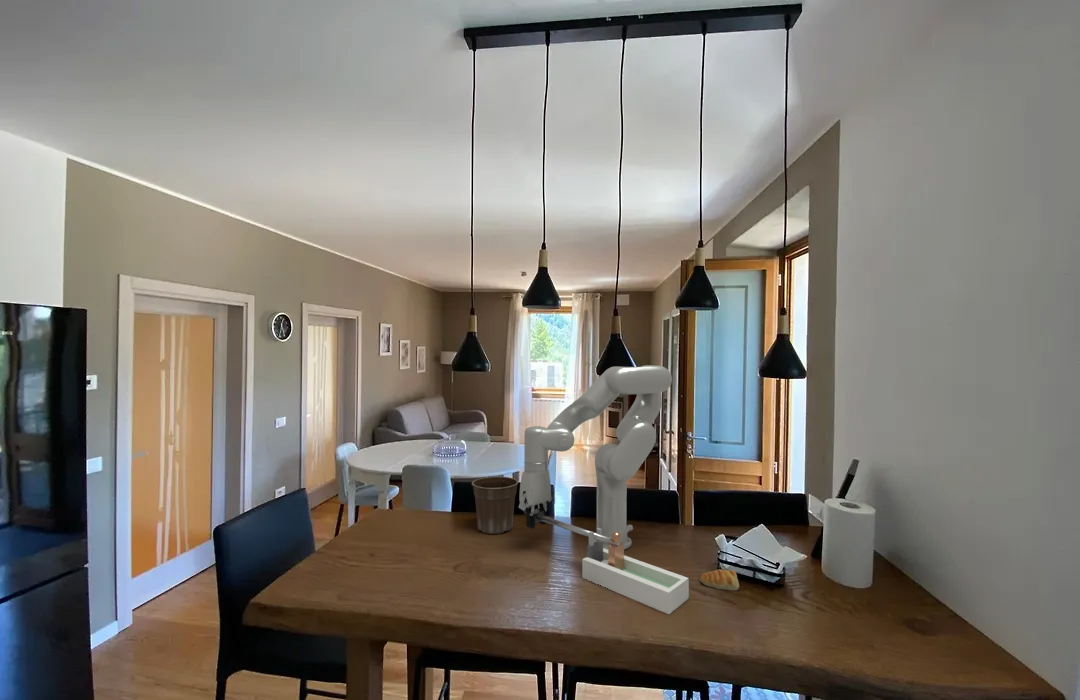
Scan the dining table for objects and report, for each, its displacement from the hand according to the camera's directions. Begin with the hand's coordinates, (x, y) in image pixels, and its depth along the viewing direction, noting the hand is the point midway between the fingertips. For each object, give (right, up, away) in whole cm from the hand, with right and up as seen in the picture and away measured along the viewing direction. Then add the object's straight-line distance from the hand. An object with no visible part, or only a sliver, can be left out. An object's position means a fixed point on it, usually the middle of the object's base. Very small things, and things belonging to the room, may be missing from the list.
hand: (535, 524), depth 143 cm
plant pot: (-14, -8, +17) cm, 24 cm away
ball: (+20, -6, -19) cm, 28 cm away
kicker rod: (+11, -4, -10) cm, 16 cm away
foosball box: (+25, -7, -25) cm, 36 cm away
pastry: (+49, -7, -23) cm, 55 cm away
